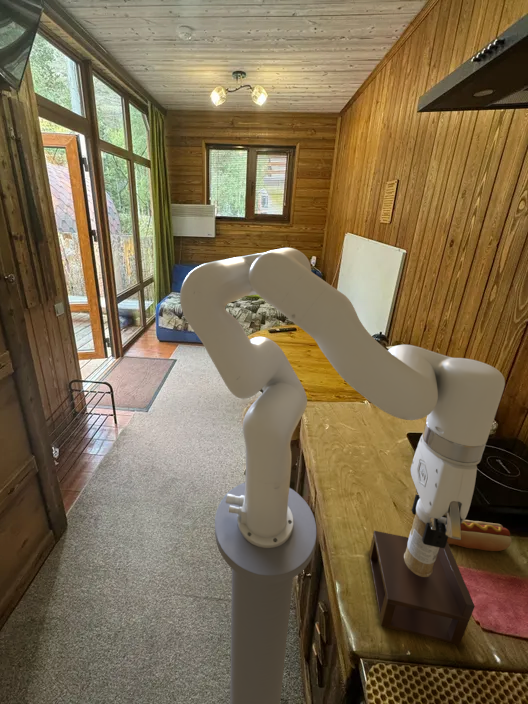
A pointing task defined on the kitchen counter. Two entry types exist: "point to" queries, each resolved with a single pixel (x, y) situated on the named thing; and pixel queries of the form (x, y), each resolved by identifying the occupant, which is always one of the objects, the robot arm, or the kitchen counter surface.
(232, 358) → the robot arm
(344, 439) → the kitchen counter surface
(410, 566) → the sprinkles bottle
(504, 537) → the food
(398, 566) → the spice rack
